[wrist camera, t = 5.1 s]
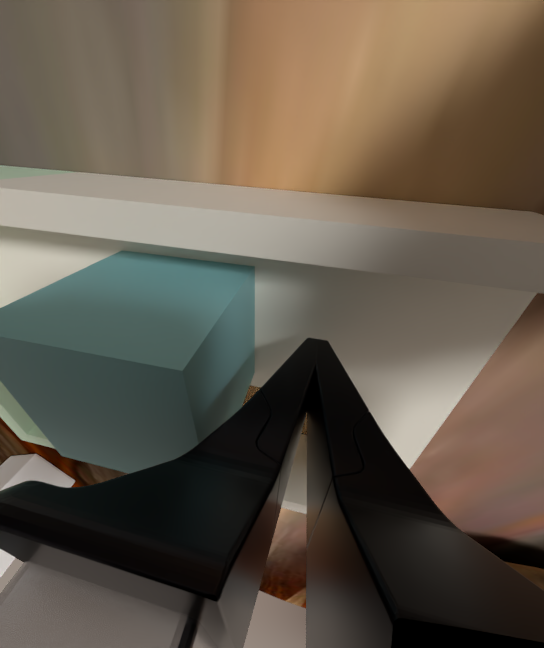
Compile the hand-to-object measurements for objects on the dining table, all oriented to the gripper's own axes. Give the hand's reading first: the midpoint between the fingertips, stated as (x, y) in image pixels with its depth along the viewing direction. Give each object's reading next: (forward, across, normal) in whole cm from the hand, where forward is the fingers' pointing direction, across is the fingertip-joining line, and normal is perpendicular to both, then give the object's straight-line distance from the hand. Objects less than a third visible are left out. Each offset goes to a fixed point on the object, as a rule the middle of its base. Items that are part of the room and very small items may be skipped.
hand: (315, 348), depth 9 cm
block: (+1, +5, 0) cm, 5 cm away
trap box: (+3, +5, +3) cm, 7 cm away
